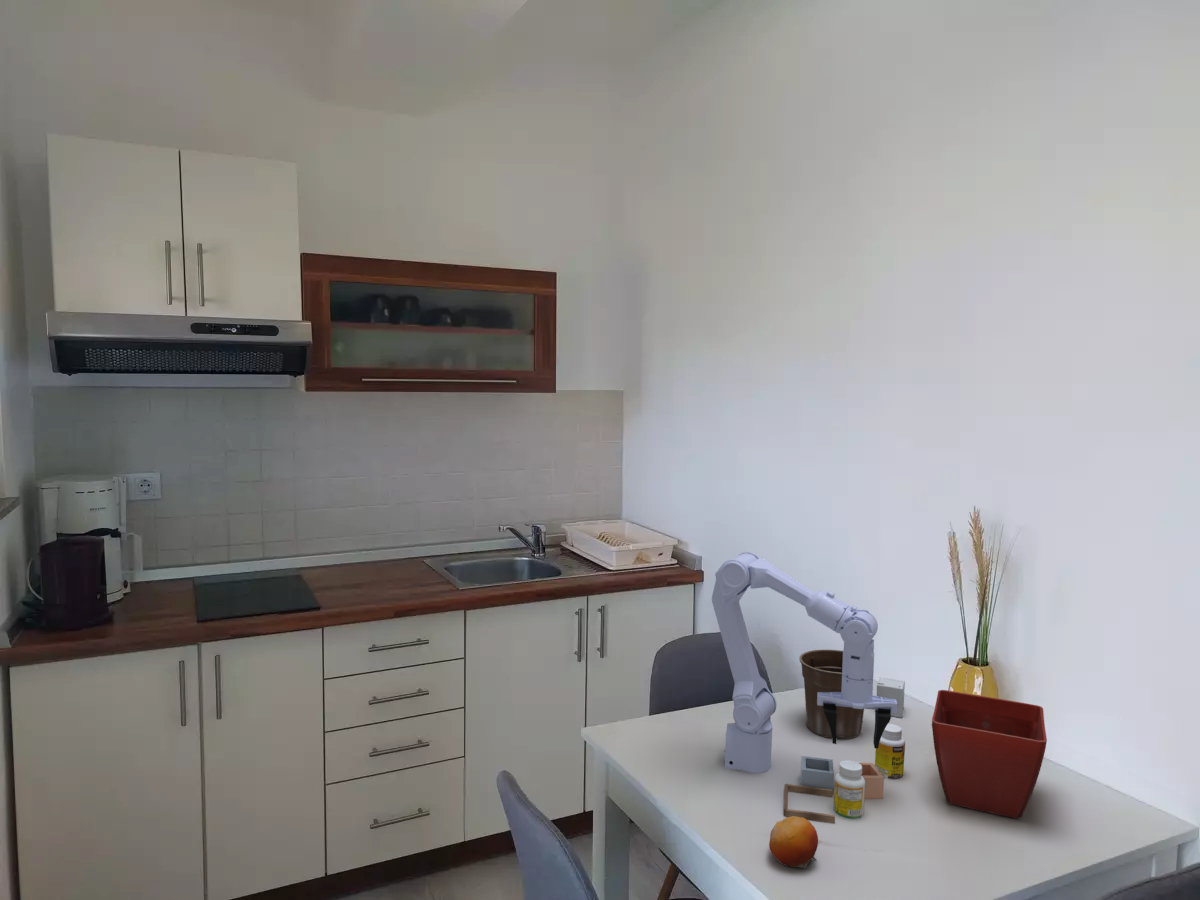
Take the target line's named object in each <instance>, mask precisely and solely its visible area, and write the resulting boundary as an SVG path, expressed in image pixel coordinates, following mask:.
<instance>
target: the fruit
mask: <svg viewBox="0 0 1200 900" xmlns="http://www.w3.org/2000/svg"><path fill="white" fill-rule="evenodd" d="M769 834H770V835H769V836H770V837H769V843H768V845H769V846H768V847H769V850H770V853H771V854H772V856H774V858H775V859H776V860H777V861H778V862H780V864H782V865H784V866H787V867H790V868H801V869H805V870H807V866H808V864H809V863H810V861H812V859H813V860H815V861H817V859H816V858H815V856H816V855H815V854H816V852H817V851H818V845H819V836H818V833H817V829H816V827H815V826H814V825H813V824H812V823H811V822H810V820H807V819H805V818H800V817H796V816H791V817H785V818H783V819H782V820H779V821H776V823H775V824H774V826H773V827H772V828H771V831H770V833H769Z"/></svg>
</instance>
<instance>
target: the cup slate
mask: <svg viewBox="0 0 1200 900" xmlns="http://www.w3.org/2000/svg"><path fill="white" fill-rule="evenodd" d="M800 759H801V760H800V785H801V786H808V787H816V788H824V789H832V791H833V792H832V796H834V787H835V771H834V761H833V759H830V758H822V757H814V756H813V757H812V756H807V755H806V756H804V755H801V757H800Z"/></svg>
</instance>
